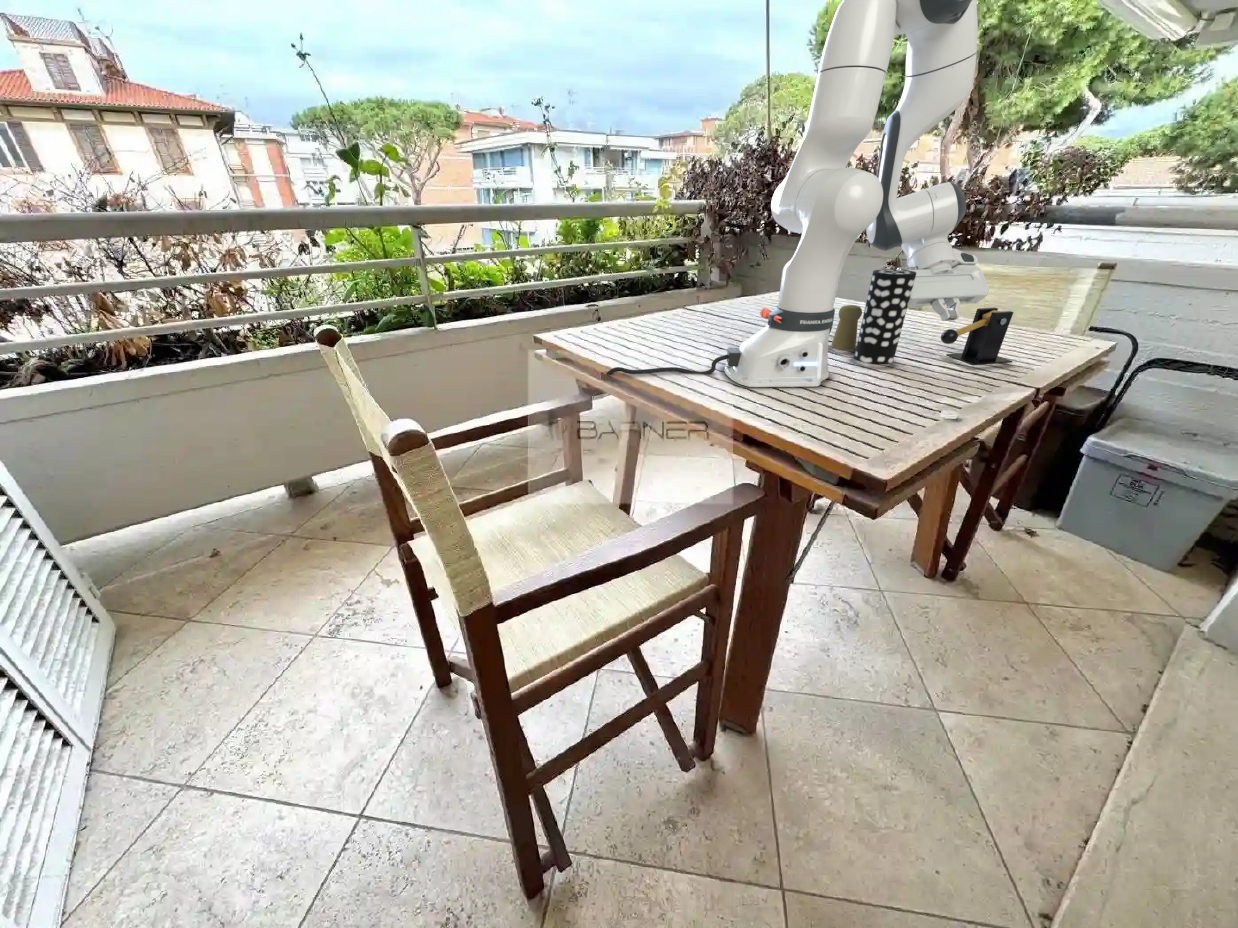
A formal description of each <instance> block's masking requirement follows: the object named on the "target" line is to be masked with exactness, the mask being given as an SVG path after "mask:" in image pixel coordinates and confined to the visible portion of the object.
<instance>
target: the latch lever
mask: <svg viewBox="0 0 1238 928" xmlns="http://www.w3.org/2000/svg"><path fill="white" fill-rule="evenodd" d="M992 312H1001V311H999V310H997V311H996V310H993V311H991V312H988V313H986V314H984V315H982V320H980V321H977V322H975V323H973V322H972V323H973V324H972V323H970V324H968V325H965V326H963V327H961V328H958V329H952V328H948V329H945V330H944V331H943V332H942V333H941V335H940V341H941V342H942V343H943V344H945V345H950V344H954V343H955V342H956V341H957V340H958V338H959V337H960V336H962V335H964V334H966V333H969V332H970V331H972V330H974V329H976V328H979V327H981V326H987V325H988V322H989V319H990V316H991V314H992Z"/></svg>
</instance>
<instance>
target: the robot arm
mask: <svg viewBox="0 0 1238 928" xmlns="http://www.w3.org/2000/svg"><path fill="white" fill-rule="evenodd" d="M978 17H979V16H978V5H977V0H842V1H841V2H840V4H839V5H838V7H837V8H836V11H835V14H834V17H833V19H832V22H831V24H830V28H829V30H828V33H827V37H826V39H825V43H824V47H823V50H822V54H821V55H822V56H821V58H820V62H819V65H818V71H817V74H816V75H817V76H816V81H815V86H814V90H813V95H812V99H811V104H810V109H809V114H808V118H807V123H806V126H805V129H804V133H803V136H802V138H801V142H800V143H799V146H798V149H797V151H796V154H795V156H794V158H793V161H792V163H791V164H790V167H789V170H788V172H787V174H786V175H785V177H784V179H783V180H782V181H781V182H780V183H779V185H778V186H777V187H776V189H775V190H774V193H773V195H772V198H771V203H770V209H771V215H772V217H773V219H774V221H775V222H776V223H777V225H779V226H781V227H782V228H784V229H785V230H788V231H789V232H791V233H796V234H801V235H800V239H799V242H798V245H797V247H796V250H795V251H794V254H793V256H792V257H791V258H790V259H789V260H788V261H787V262H786V263H785V265H784V266H783V268H782V271H781V278H780V279H781V280H780V285H779V293H778V301H777V305H776V306H775V308H774V309H772V310H771V309H769V308H767V307H762V308H761V310H759V316H760V317H761V318H763V319H766V320H767V324H765V326H763V327H762V328H760V330H758V331H756V333H754V334H753V335H751V336H750V337H749V338H747V339H745V340H744V341H743V342H741V344H740V345H739V347H727V351H726V354H724V355H721V356H718V357H716V358H714V359H713V360H712V362H711V367H710V369H708V370H704V371H695V370H692V369H687V368H683V367H678V366H677V367H676V366H667V367H655V368H644V369H631V368H626V367H621V366H620V367H619V366H616V367H615V366H614V367H613V368H610V369H609V370H608V371H607V373H606V375H607V376H611V375H612V374H614V373H617V372H620V373H624V374H627V375H645V374H654V373H655V374H656V373H668V372H669V373H670V372H673V373H674V372H676V373H682V374H691V375H692V374H693V375H711V374H713V373H714V372H715V371H716V368H717V367H716V366H717V364H718V363H719V362H721V361H725V360H726V364H725V366H724V370H723V371H724V374H725V375H726V376H727V377H728V378H729V379H730V380H731V381H733V382H734V383H736V384H739V385H741V386H745V387H749V388H786V387H787V388H789V387H790V388H792V387H793V388H796V387H797V388H799V387H804V388H805V387H807V388H808V387H810V388H811V387H819V386H820V385H821V383H822V382H823V381H825V380H826V379H828V378H829V376H830V373H829V363H828V362H829V360H828V356H829V354H828V353H829V342H830V341H829V340H830V334H831V332H832V329H833V325H834V321H835V320H834V319H835V313H836V309H835V308H834V307H835V301H836V297H837V292H838V287H839V283H840V278H841V274H842V270H843V268H844V265H845V262H846V260H847V258H848V256H849V255H850V251H851V250H852V248H853V246H854V244H855V242H856V241H857V240H858V238H859V237H860V235H861V234H862V233H864V231H866V238H867V241H868V243H869V245H871V247H873V248H876V249H878V250H881V251H884V252H887V251H890V250H893V249H895V248H897V247H900V246H901V251H903V253H904V254H905V255H906V264H907V267H904V266H900V267H897V269H896V270H908V271H914V272H916V277H915V281H914V285H913V288H912V292H911V296H910V300H909V304H908V307H907V308H909V307H911V308H912V307H927V306H928V307H929V306H930V307H931V309H932V310H933V311H934V312H936V313H937V314H938V315H939V317H940V320H941V321H942V322H951V321H952V322H954V321H956V320H958V319H959V318H960V313H959V308H960V305H969V304H971V305H972V304H973V305H974V304H978V303H979V302H981V301H982V300H983V299H985V298H986V297H987V296H988V294H989V292H990V288H989V285H988V282H987V280H986V277H985V275H984V272H983V270H982V269H981V268H980V267H979V266H978V265H977V264H978V263H979V259H978V257H977V255H975V254H972V253H968V252H964V251H962V250H960V249H957V248H954V247H952V244H951V242H950V241H949V239H948V237H949V234H952V233H953V231H954V230H955V229H956V228H957V227H958V225H959V223H960V222H961V221H962V219H963V218H964V217H965V214H966V212H967V201H966V197H965V194H964V192H963V190H962V188H961V187H960V186H959V185H957V184H956V183H954V182H952V181H947V182H942V183H938V184H935V185H932V186H928V187H926V188H923V189H921V190H918V191H915V192H912V193H908V194H906V195H902V196H900V197H899V196H898V192H899V186H900V181H901V175H902V170H903V164H904V159H905V157H906V155H907V153H908V151H909V150H910V148H911V147H912V146H913V145H914V144H915V143H916V142H917V141H918V140H919V139H920V138H921V137H922V136H923V135H924V134H925V135H926V133H928V131H930V130H931V129H932V128H934V127H935V126H937V125H938V124H940V123H941V122H943V121H944V120H946V118H947V117H949V116H950V115H951V114H952V113H953V112H954V111H955V110H956V109H957V108H958V107H959V106H960V105H961V103H962V102H963V101H964V100H965V98H966V96H967V95H968V94H969V92H970V90H971V88H972V86H973V83H974V77H975V73H976V65H977V56H978V55H977V53H978V40H979V39H978V36H979V21H978ZM903 35H905V37H906V39H907V44H906V54H905V66H904V67H905V68H904V69H905V70H904V71H905V72H904V85H903V89H902V94H901V97H900V99H899V102H898V103H897V106H896V108H895V110H894V111H893V112H892V113H891V114H890V115H889V116H888V117H887V119H886V121H885V125H884V128H883V132H882V136H881V141H880V146H879V147H880V148H879V153H878V159H877V167H876V173H875V174H874V173H872V172H869V171H866V170H864V169H861V168H855V167H847V166H848V164H849V162H850V160H851V158H852V156H853V155H854V153H855V152H856V150H857V148H858V147H859V145H860V144H861V143H863V141H864V140H865V139H866V138H867V137H868V135H869V134H870V132H871V131H872V129H873V127H874V125H875V119H876V116H877V112H878V108H879V104H880V100H881V97H882V93H883V88H884V85H885V80H886V76H887V73H888V69H889V65H890V60H891V54H892V51H893V43H894V38H895V37H896V36H903Z"/></svg>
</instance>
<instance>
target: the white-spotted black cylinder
mask: <svg viewBox="0 0 1238 928" xmlns="http://www.w3.org/2000/svg"><path fill="white" fill-rule="evenodd" d="M915 277H916V272H914V271H908V270H897V269H894V268H893V269H890V268H889V269H887V268H886V269H884V268H883V269H875V270H873V271H872V274H871V279H870V283H869V287H868V293H867V296H866V297H867V298H866V302H865V305H864V306H865V307H864V312H863V315H862V320H861V325H860V327H859V328H860V329H859V333H858V338H857V341H856V348H855V351H854V355H853V358H854V360H856V361H857V362H860V363H864V364H868V365H891V364H892V363H894V360H895V356H896V352H897V350H898V344H899V341H900V338H901V333H902V330H903V326H904V324H905V323H904V322H905V319H906V315H907V310H908V308H909V307H908V304H909V300H910V296H911V292H912V288H913V285H914V281H915Z"/></svg>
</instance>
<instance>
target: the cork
mask: <svg viewBox="0 0 1238 928" xmlns="http://www.w3.org/2000/svg"><path fill="white" fill-rule="evenodd" d="M862 314H863V310H862V307H861V306H858V305H855V304H845V305H843V306H841V307H840V308H839V310H838V318H839V320H838V322H837V323H838V324H837V327H836V330H835V333H834V335H833V338H832V341H831V344H830V347H831V348H832V349H835V350H840V351H852V350H856V346H857V339H858V338H857V336H858V326H859V325H858V323H859V320H860V319H861V317H862V316H863V315H862Z"/></svg>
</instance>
